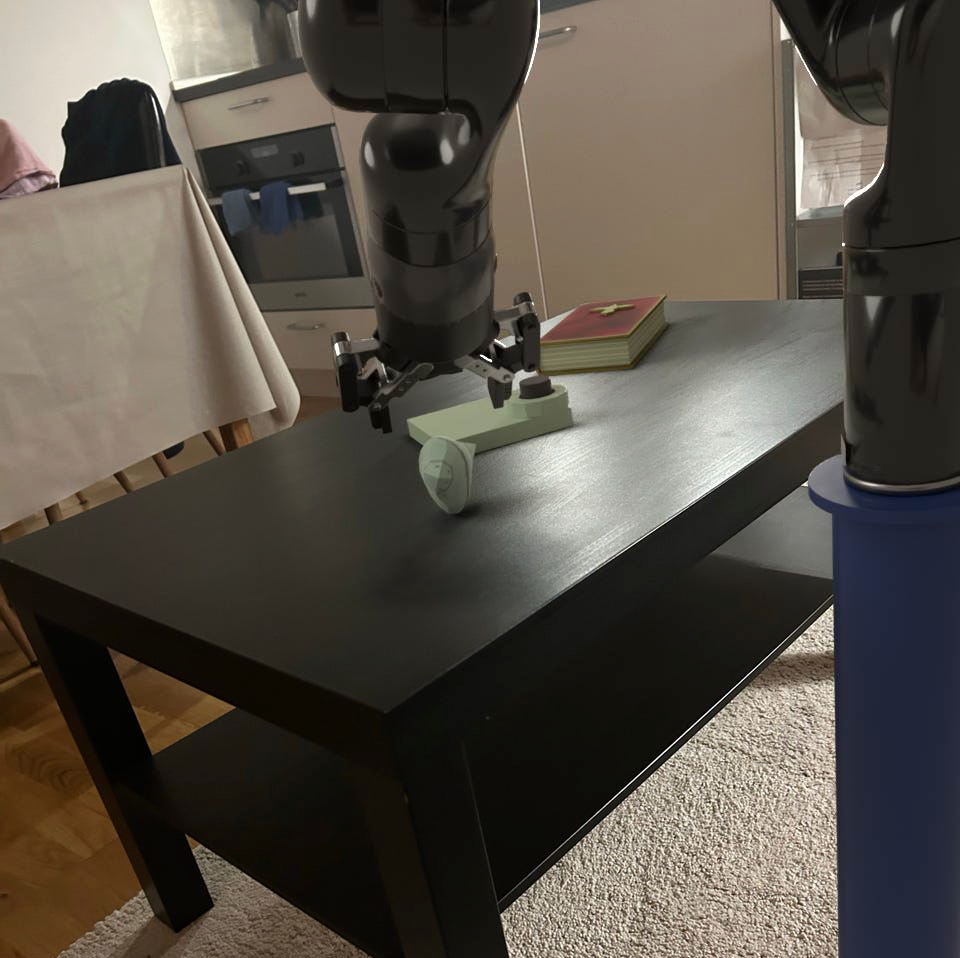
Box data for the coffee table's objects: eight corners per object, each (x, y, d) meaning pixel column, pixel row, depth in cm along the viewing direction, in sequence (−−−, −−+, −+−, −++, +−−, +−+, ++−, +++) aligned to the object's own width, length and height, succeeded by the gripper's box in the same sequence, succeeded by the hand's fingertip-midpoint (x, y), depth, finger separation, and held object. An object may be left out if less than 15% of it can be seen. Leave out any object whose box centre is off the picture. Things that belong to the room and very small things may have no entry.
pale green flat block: (532, 402, 113) (527, 371, 112) (581, 425, 102) (576, 391, 101) (410, 436, 110) (403, 404, 108) (447, 463, 99) (440, 429, 97)
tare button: (545, 390, 105) (542, 373, 104) (557, 395, 102) (555, 378, 101) (516, 398, 104) (514, 381, 103) (528, 403, 101) (526, 386, 100)
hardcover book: (535, 376, 123) (530, 341, 121) (582, 333, 140) (578, 301, 138) (632, 368, 118) (628, 332, 116) (669, 324, 135) (666, 292, 133)
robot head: (457, 532, 83) (441, 452, 79) (412, 532, 84) (395, 454, 81) (493, 495, 89) (479, 420, 86) (450, 496, 91) (436, 422, 87)
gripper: (530, 195, 63) (518, 349, 78) (303, 242, 61) (336, 388, 77) (563, 295, 60) (544, 433, 76) (328, 345, 59) (358, 475, 74)
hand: (440, 410), depth 76 cm, fingers open, 8 cm apart
